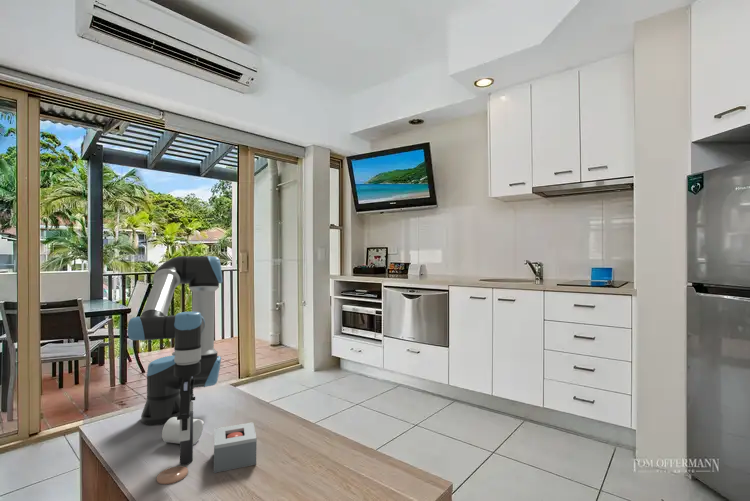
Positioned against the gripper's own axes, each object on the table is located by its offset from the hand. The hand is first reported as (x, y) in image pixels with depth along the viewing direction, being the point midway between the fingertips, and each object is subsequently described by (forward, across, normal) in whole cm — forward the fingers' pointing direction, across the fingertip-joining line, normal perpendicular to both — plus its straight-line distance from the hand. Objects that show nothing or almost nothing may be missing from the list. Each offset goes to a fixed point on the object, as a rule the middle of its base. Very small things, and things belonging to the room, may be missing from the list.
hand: (186, 430), depth 115 cm
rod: (+10, 0, 0) cm, 10 cm away
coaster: (+10, +6, -3) cm, 12 cm away
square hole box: (+10, +4, +14) cm, 17 cm away
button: (+5, +4, +14) cm, 15 cm away
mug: (+10, -16, -1) cm, 19 cm away
